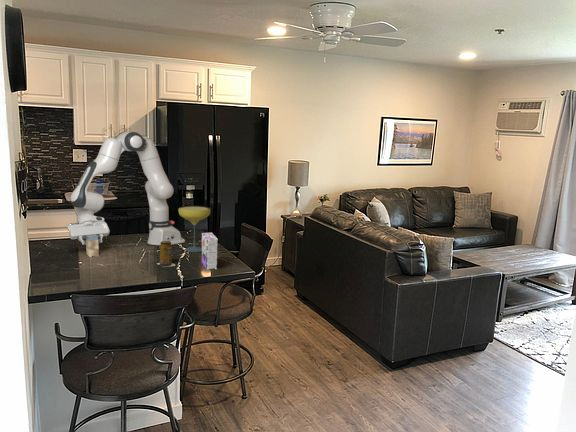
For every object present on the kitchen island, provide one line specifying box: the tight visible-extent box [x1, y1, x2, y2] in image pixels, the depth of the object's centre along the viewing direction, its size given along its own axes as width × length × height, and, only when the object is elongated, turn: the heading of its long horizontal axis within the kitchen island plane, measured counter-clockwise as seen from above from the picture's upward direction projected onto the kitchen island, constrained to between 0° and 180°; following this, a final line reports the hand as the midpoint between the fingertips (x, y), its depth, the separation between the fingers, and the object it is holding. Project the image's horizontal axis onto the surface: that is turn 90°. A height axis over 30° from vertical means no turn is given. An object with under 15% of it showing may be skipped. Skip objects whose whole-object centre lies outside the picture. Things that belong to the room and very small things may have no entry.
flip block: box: [85, 235, 100, 258], centre depth 246 cm, size 5×5×11 cm
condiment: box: [156, 241, 177, 268], centre depth 236 cm, size 7×8×12 cm
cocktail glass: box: [178, 204, 211, 253], centre depth 266 cm, size 18×18×25 cm
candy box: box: [201, 232, 219, 271], centre depth 236 cm, size 14×6×16 cm, turn 21°
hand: (92, 243), depth 245 cm, fingers open, 7 cm apart
